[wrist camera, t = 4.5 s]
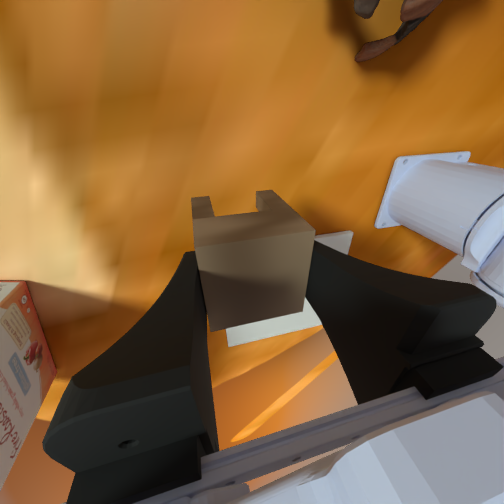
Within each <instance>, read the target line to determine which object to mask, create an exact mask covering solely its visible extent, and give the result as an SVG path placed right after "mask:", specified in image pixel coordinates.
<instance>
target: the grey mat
mask: <svg viewBox="0 0 504 504" xmlns="http://www.w3.org/2000/svg"><path fill="white" fill-rule="evenodd" d="M352 236H353V232H352V231H343V232H336V233H330V234H323V235H316V236H315V238H314V240H316V241H318V242H320V243H322V244H324V245H326V246H328V247H331V248H333V249H335V250H337V251H339V252H342V253H344V254H346V255H348V251H349V248H350V244H351V240H352ZM318 325H322V323H321V321H320V319H319V318H318V316H317V314H316V313H315V311H314V310H313V308H312V307H311V305H310V304H309V302H308V301H307V299H306V298H305V300H304V307H303V312H299V313H294V314H290V315H285V316H281V317H276V318H272V319H267V320H263V321H258V322H254V323H249V324H245V325H240V326H236V327H231V328H227V329H226V334H227V341H228V347H231V346H235V345H239V344H243V343H248V342H252V341H256V340H260V339H264V338H268V337H272V336H277V335H281V334H285V333H289V332H293V331H297V330H301V329H305V328H310V327H314V326H318Z"/></svg>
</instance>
